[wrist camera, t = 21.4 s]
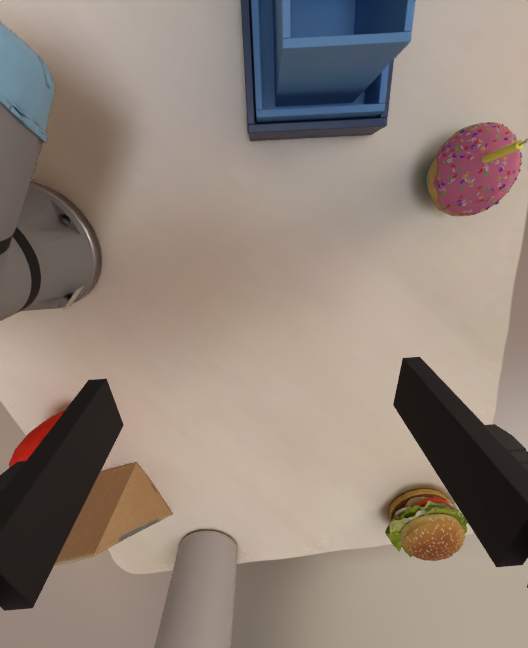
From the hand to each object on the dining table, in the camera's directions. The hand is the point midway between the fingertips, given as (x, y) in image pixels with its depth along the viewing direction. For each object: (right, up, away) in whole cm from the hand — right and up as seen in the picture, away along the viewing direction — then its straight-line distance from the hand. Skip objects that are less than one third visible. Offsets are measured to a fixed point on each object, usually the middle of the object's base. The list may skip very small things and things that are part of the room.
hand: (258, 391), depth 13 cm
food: (+30, -33, +44) cm, 63 cm away
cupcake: (+22, +21, +21) cm, 36 cm away
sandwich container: (-24, -30, +43) cm, 58 cm away
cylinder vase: (-12, -45, +50) cm, 68 cm away
